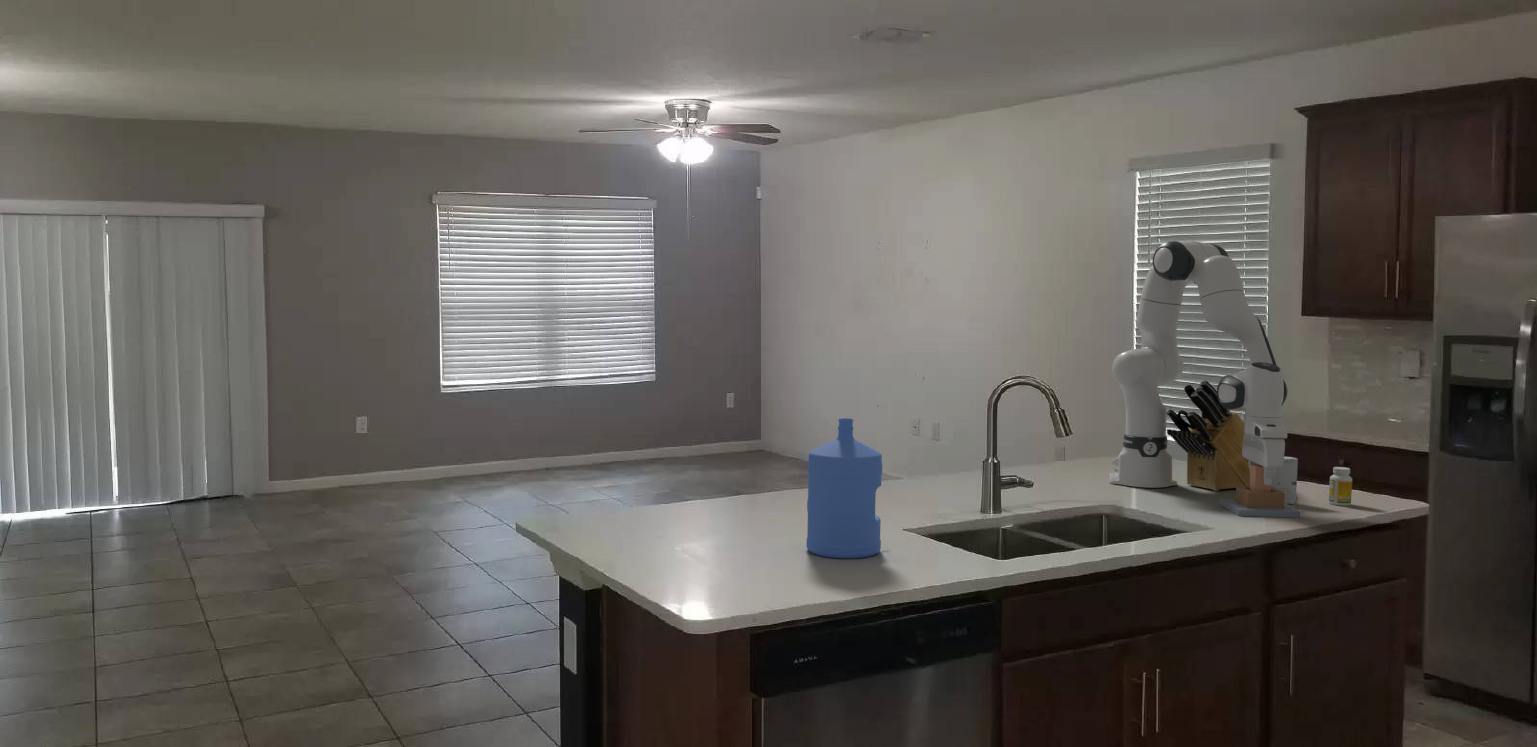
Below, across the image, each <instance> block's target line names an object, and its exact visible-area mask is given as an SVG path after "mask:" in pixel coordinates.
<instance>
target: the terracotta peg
mask: <svg viewBox="0 0 1537 747" xmlns="http://www.w3.org/2000/svg"><path fill="white" fill-rule="evenodd" d="M1264 472H1265V471H1264V467H1263V466H1261V465H1250V486H1249V490H1250V491H1260V492H1271V485H1265V484H1263V483H1262V481H1263V477H1264Z"/></svg>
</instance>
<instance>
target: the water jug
mask: <svg viewBox="0 0 1537 747" xmlns="http://www.w3.org/2000/svg"><path fill="white" fill-rule="evenodd" d="M837 421H838V427H837V429H838V431H837V432H838V433H837V434H838V436H837V438H835V439H833V440H832V441H830V442H826V443H825V444H823V445H820V446H818V447H817V448H815V449H812V450H811V451H809V453H808V460H807V472H808V474H807V476H808V478H807V483H808V484H807V502H806V510H807V531H806V532H807V534H806V535H807V536H806V549H807V550H808V552H810V553H811V554H814V555H817V556H820V557H825V558H831V559H842V560H844V559H845V560H846V559H847V560H849V559H863V558H870V557H872V556H875V555H877V554H878V553H879V552H880V551H881V546H882V544H881V542H882V541H881V518H880V516H878V515H877V514H876V499H877V498H876V495H877V490H878V488H880V487H881V486H882V474H883V462H882V461H883V460H882V459H883V454H882V453H880V451H877V449H876V450H875V449H873V448H871V447H870V446H868V445H866V444H864V443H862V442H860V441H858V440H856V438H854V426H853V425H854V424H853V422H854V419H853V418H847V417H846V418H838V419H837Z"/></svg>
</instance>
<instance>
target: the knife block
mask: <svg viewBox="0 0 1537 747" xmlns="http://www.w3.org/2000/svg"><path fill="white" fill-rule="evenodd" d="M1183 390H1184V392H1185V394H1186V395H1187V397H1188V398H1189V400H1190V401H1191V402H1192V403H1193V404H1194V406H1196V407H1197V408H1198V409H1199V411H1201V414H1198V413H1197V412H1195V411H1190V412H1187V411H1186V410H1182V409H1181V410H1180V409H1179V411H1178V413H1177V412H1175V411H1174V410H1173V409H1169V410H1167V412H1166V414H1167V416H1169V418H1170V419H1171V421H1172V422H1173V424H1174V425H1175V426H1176V428H1177V429H1178V430H1176V429H1170V428H1169V429H1167V428H1166V435H1168V436H1170V437H1171V438H1172V439H1173V440H1174V441H1175V443H1176V444H1177V445H1178V446H1180V448H1181V449H1183V450H1184V451H1185V452H1186V453H1187V455H1186V456H1187V458H1186V459H1187V461H1186V462H1187V463H1186V464H1187V467H1186V484H1187V485H1190V486H1191V487H1200V488H1205V489H1209V490H1212V491H1215V492H1218V491H1220V490H1225V489H1226V490H1228V489H1236V486H1250V469H1249V464H1248V461H1249V460H1248V459H1245V458H1243V456H1242V445H1243V436H1244V421H1243V419H1242V418H1241V417H1240V415H1239V414H1238V413H1237V412H1233V411H1232V410H1229V409H1225V408H1224V407H1223V406H1222V405H1221V404H1220V402H1219V400H1218V397H1217V389H1215V387H1214V386H1213V385H1212V384H1211V383H1210V382H1209V381H1207V380H1205V379H1204V380H1203V381H1201V382H1200V383H1199V387H1197V388H1194V387H1193V385H1191V384H1187V385H1185V387H1184V388H1183ZM1182 416H1184V417H1185V418H1186V420H1185V419H1184V418H1183V417H1182ZM1258 465H1259V464H1258Z"/></svg>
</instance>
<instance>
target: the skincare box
mask: <svg viewBox="0 0 1537 747" xmlns="http://www.w3.org/2000/svg"><path fill="white" fill-rule="evenodd" d="M1298 461H1299V459H1298V458H1296V457H1292V456H1284V461H1283V465H1282V467H1281V469H1274V474H1273V477H1272V484H1271V487H1273V488H1275V489H1277V490H1279V491H1281V492H1284V493H1285V500H1284V503H1285V504H1287V505H1289V504H1290V505H1294V504H1296V501H1297V486H1298V485H1297V483H1298V468H1299V467H1298V466H1299V462H1298Z"/></svg>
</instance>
